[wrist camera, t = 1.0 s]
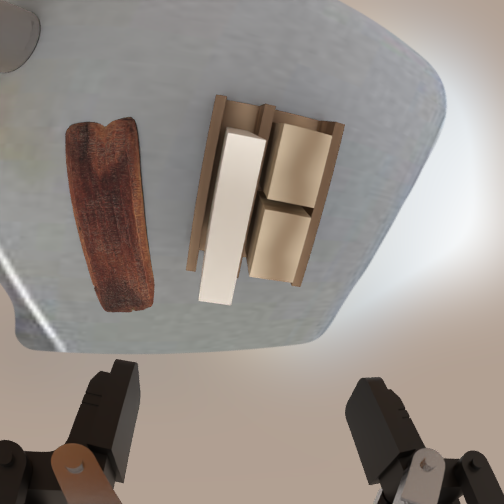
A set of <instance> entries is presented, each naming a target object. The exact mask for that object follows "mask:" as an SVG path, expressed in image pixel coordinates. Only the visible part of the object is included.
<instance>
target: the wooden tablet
mask: <svg viewBox="0 0 504 504" xmlns="http://www.w3.org/2000/svg"><path fill="white" fill-rule="evenodd" d="M139 158H140V155H139V142H138V134H137V128H136V124H135V121H134V119H132V118H131V117H126V118H122V119H118V120H115V121H112V122H111V123H110V124H108V125H107V126H105V127H104V126H103V125H101V124H98V123H95V122H84V123H77V124H73V125H71V126H70V127H69V128H68V129H67V131H66V164H67V173H68V181H69V188H70V194H71V201H72V206H73V212H74V217H75V221H76V225H77V229H78V233H79V237H80V241H81V245H82V249H83V252H84V256H85V259H86V263H87V266H88V270H89V273H90V276H91V280H92V283H93V285H94V286H95V288H94V289H95V291H96V294H97V297H98V299H99V302H100V304H101V306H102V307H103V309H104V310H105V311H107V312H132V310H135V311H138V310H144V309H146V308H148V307H151V306H152V304H153V298H154V277H153V272H152V266H151V260H150V254H149V247H148V241H147V234H146V226H145V216H144V206H143V193H142V185H141V174H140V160H139Z"/></svg>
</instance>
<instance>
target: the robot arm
mask: <svg viewBox="0 0 504 504" xmlns="http://www.w3.org/2000/svg"><path fill="white" fill-rule="evenodd" d="M39 32H40V24H39V20H38V18H37V16H36V15H35V14H34V13H32V12H30V11H28V10H25V9H23V8H20V7H18V6H16V5H13V4H11V3H8V2H6V1H3V0H0V72H2V73H6V72H11V71H14V70H15V69H17V68H19V67H20V66H21V65H22V64H23V63H24V62H25V61H26V60H27V59H28V58H29V56H30V55H31V53H32V52H33V50H34V48H35V46H36V44H37V41H38V38H39ZM139 405H140V384H139V372H138V364H137V363H136V362H130V361H124V360H118V359H116V360H115V362H114V364H113V367H112V370H111V372H110V373H108V372H103V371H100V372H99V373H98V374H96V375H95V376H94V377H93V378H92V379H91V380H90V382H89V385H88V388H87V390H86V394H85V395H84V397H83V400H82V404H81V405H80V408H79V411H78V413H77V416H76V418H75V421H74V424H73V427H72V429H71V432H70V435H69V438H68V440H67V441H66V443H65V444H64V445H62V446H60V447H58V448H57V449H56V450H54V451H51V452H31V451H23V449H22V448H21V447H20V446H19V445H18V444H17V443H15V442H12V441H9V440H2V441H0V504H122V503H121V501H120V499H119V498H118V496H117V495H116V493H115V491H114V490H113V489H114V483H115V481H116V482H121V483H124V478H125V473H126V467H127V462H128V457H129V452H130V447H131V442H132V437H133V433H134V427H135V423H136V419H137V414H138V410H139ZM345 416H346V420H347V422H348V425H349V428H350V431H351V434H352V437H353V439H354V442H355V445H356V448H357V451H358V454H359V457H360V460H361V462H362V466H363V468H364V471H365V474H366V477H367V480H368V483H369V485H373V484H378V483H380V484H381V487H382V488H381V489H380V490H379V491H378V493H377V496H376V499H375V501H374V503H373V504H460V501H459V499H458V498H459V497H461V496H462V495H464V497H465V500H466V503H467V504H504V494H503V492H502V490H501V488H500V486H499V483H498V481H497V479H496V477H495V475H494V473H493V471H492V469H491V467H490V465H489V463H488V461H487V459H486V458H485V456H484V455H483V454H481V453H480V452H477V451H468V452H467V453H465V454H464V456H462V457H461V458H460V459H444V458H443V457H442V456H441V455H440V454H439V453H438V452H437V451H435V450H433V449H430V448H426V447H425V446H424V444H423V442H422V440H421V438H420V436H419V434H418V432H417V430H416V428H415V426H414V424H413V422H412V420H411V418H409V414H408V412H407V411H406V410H405V407H404V405H403V403H402V401H401V399H400V397H398V396H397V395H396V394H395V393H394V392H393V391H392V390H391V389H387V387H386V385H385V383H384V381H383V379H382V378H380V377H372V378H361V379H360V380H359V381H358V383H357V386H356V387H355V389H354V391H353V393H352V395H351V397H350V399H349V400H348V402H347V405H346V410H345Z"/></svg>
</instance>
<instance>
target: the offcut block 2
mask: <svg viewBox="0 0 504 504" xmlns="http://www.w3.org/2000/svg"><path fill="white" fill-rule="evenodd" d="M310 221H311V217H310V216H309V215H308V214H307V212H306V211H305V210H304V209H303V208H302V206H301V205H296V204H291V203H286V202H281V201H276V200H271V199H267V197H266V195H265V193H264V191H259V190H257V194H256V198H255V203H254V207H253V212H252V216H251V221H250V226H249V230H248V235H247V240H246V244H245V252H246V258H247V264H248V271H249V277H255V278H262V279H269V280H276V281H284V282H291V283H293V280H294V277H295V273H296V270H297V267H298V263H299V260H300V256H301V253H302V249H303V246H304V242H305V239H306V235H307V232H308V228H309V224H310Z"/></svg>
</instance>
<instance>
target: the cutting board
mask: <svg viewBox="0 0 504 504" xmlns="http://www.w3.org/2000/svg"><path fill="white" fill-rule="evenodd" d="M265 144H266V140H265V139H263V138H261V137H259V136H257V135H255V134H253V133H251V132H249V131H246V130H241V129H236V128H230V127H226V132H225V137H224V141H223V146H222V152H221V157H220V162H219V167H218V172H217V178H216V183H215V188H214V194H213V200H212V205H211V211H210V217H209V222H208V229H207V236H206V244H205V251H204V259H203V267H202V275H201V284H200V292H199V301H204V302H211V303H218V304H225V305H231V302H232V297H233V292H234V287H235V283H236V278H237V273H238V268H239V264H240V259H241V254H242V250H243V245H244V240H245V236H246V231H247V226H248V222H249V217H250V212H251V208H252V203H253V198H254V194H255V189H256V185H257V180H258V175H259V171H260V166H261V162H262V157H263V153H264V148H265Z"/></svg>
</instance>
